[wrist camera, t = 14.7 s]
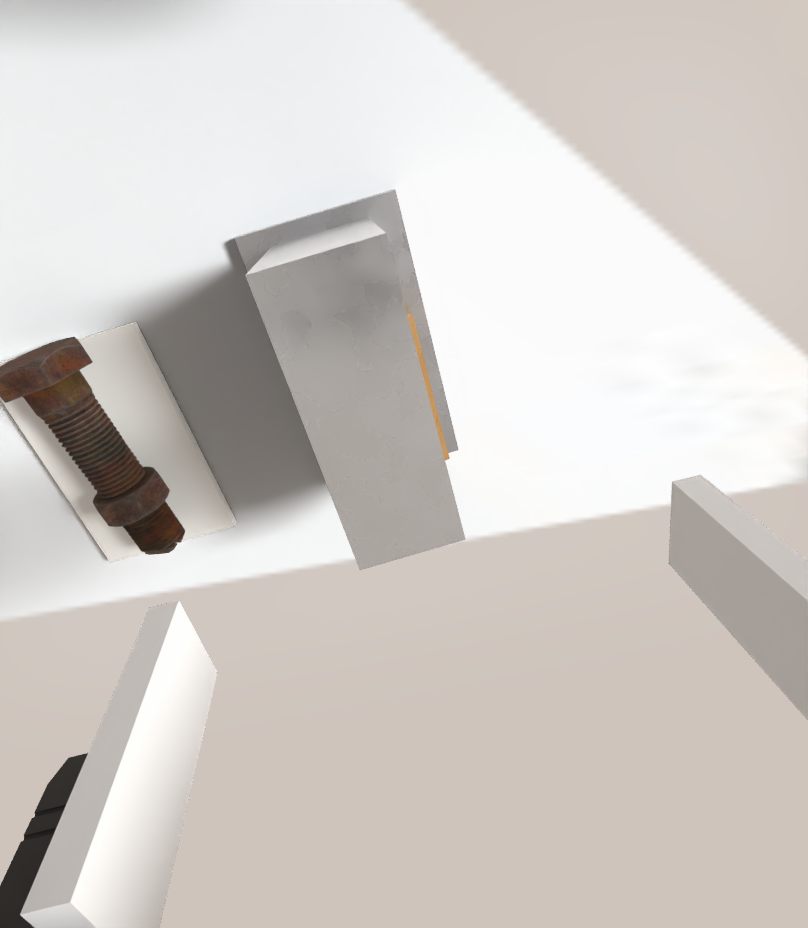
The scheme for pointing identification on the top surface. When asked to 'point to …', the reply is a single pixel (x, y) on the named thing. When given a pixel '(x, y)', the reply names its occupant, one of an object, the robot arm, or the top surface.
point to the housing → (361, 371)
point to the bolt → (93, 442)
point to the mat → (132, 441)
